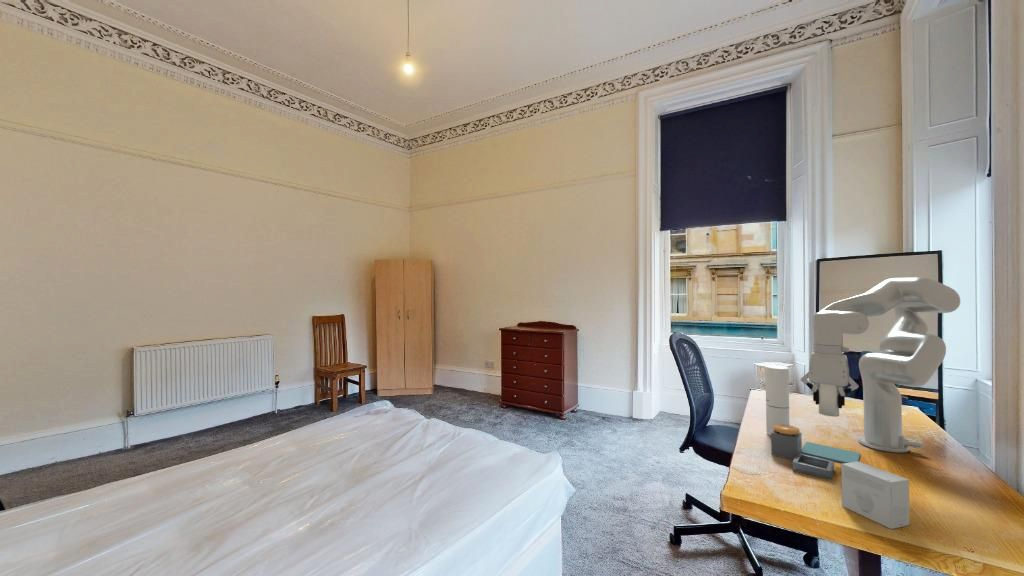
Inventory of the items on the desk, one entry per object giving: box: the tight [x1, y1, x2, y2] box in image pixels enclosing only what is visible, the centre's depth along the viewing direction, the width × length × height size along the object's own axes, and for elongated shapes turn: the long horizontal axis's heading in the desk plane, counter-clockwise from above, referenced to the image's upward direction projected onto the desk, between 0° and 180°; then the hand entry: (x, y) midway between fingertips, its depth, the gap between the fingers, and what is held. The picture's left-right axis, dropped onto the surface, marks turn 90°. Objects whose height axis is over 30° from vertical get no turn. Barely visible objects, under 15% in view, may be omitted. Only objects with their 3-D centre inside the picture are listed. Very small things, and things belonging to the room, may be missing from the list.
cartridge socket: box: [791, 453, 835, 481], centre depth 116 cm, size 9×9×2 cm
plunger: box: [773, 424, 801, 436], centre depth 128 cm, size 7×7×5 cm
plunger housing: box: [770, 430, 803, 461], centre depth 128 cm, size 7×7×7 cm
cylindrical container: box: [764, 364, 791, 436], centre depth 145 cm, size 7×7×25 cm
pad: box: [802, 441, 861, 464], centre depth 128 cm, size 14×12×1 cm
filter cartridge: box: [818, 384, 840, 418], centre depth 128 cm, size 5×5×11 cm
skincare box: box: [840, 461, 911, 530], centre depth 93 cm, size 10×6×10 cm, turn 17°
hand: (828, 405), depth 128 cm, fingers closed on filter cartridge, 5 cm apart
